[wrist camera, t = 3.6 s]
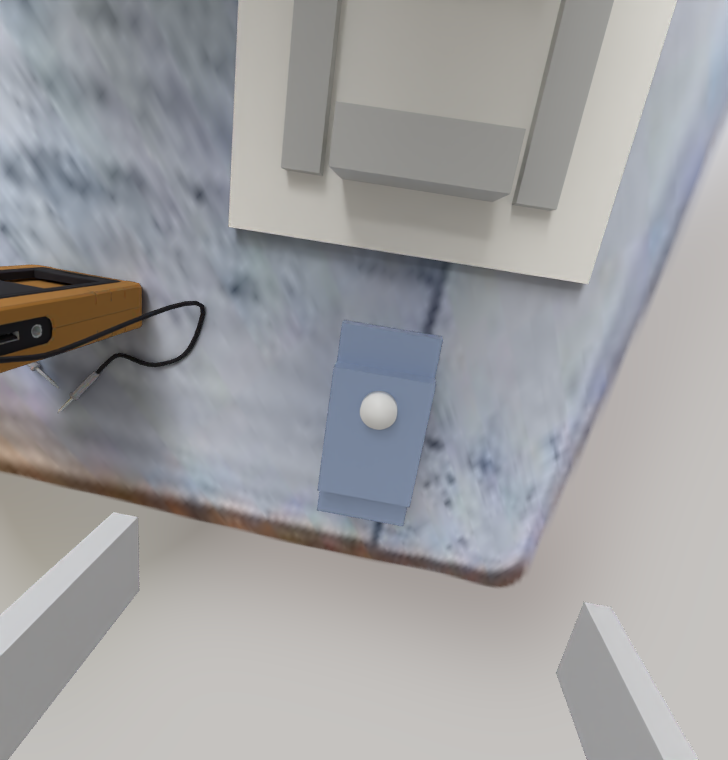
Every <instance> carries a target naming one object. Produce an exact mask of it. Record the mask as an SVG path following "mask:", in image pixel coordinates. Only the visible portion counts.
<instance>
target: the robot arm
mask: <svg viewBox="0 0 728 760" xmlns="http://www.w3.org/2000/svg"><path fill="white" fill-rule="evenodd" d="M138 540H139V537H138V517H137V516H131V515H126V514H120V513H116V512H113V513H112V514H111V515H110V516H109V517H107V518H106V519H105V520H104V521H103V522H102V523H101V524H100V525H99V526H97V528H95V529H94V530H93V531H92V532H91V533H90V534H89V535H88V536H87V537H86V538H84V539H83V540H82V541H81V542H80V543H79V544H78V545H77V546H75V547H74V548H73V549H72V550H71V551H70V552H69V553H68V554H67V555H66V556H64V557H63V558H62V559H61V560H60V561H59V562H58V563H57V564H56V565H55V566H53V567H52V568H51V569H50V570H49V571H48V572H47V573H46V574H45V575H44V576H42V577H41V578H40V579H39V580H38V581H37V582H36V583H35V584H34V585H33V586H31V587H30V588H29V589H28V590H27V591H26V592H25V593H24V594H23V595H21V596H20V597H19V598H18V599H17V600H16V601H15V602H14V603H13V604H12V605H11V606H9V607H8V608H7V609H6V610H5V611H4V612H3V613H2V614H1V615H0V760H8V759H9V758H10V756H11V755H12V754H13V753H14V751H15V750H16V749H17V747H18V746H19V745H20V744H21V742H22V741H23V740H24V738H25V737H26V736H27V734H28V733H29V732H30V730H31V729H32V728H33V727H34V726H35V724H36V723H37V722H38V720H39V719H40V718H41V716H42V715H43V714H44V712H45V711H46V710H47V709H48V707H49V706H50V705H51V704H52V702H53V701H54V700H55V698H56V697H57V696H58V695H59V693H60V692H61V691H62V689H63V688H64V687H65V686H66V684H67V683H68V682H69V680H70V679H71V678H72V676H73V675H74V674H75V673H76V671H77V670H78V669H79V667H80V666H81V665H82V664H83V662H84V661H85V660H86V658H87V657H88V656H89V654H90V653H91V652H92V651H93V649H94V648H95V647H96V645H97V644H98V643H99V642H100V640H101V639H102V637H103V636H104V635H105V634H106V633H107V631H108V630H109V629H110V627H111V626H112V625H113V623H114V622H115V621H116V620H117V618H118V617H119V616H120V615H121V613H122V612H123V611H124V609H125V608H126V607H127V605H128V604H129V603H130V602H131V600H132V599H133V597H134V596H135V595H136V594H137V592H138V591H139V541H138ZM556 674H557V677H558V679H559V682H560V685H561V688H562V691H563V694H564V697H565V699H566V702H567V705H568V708H569V710H570V713H571V716H572V719H573V722H574V725H575V728H576V730H577V733H578V736H579V739H580V742H581V744H582V747H583V750H584V753H585V756H586V759H587V760H699V759H698V758H697V756H696V754H695V752H694V751H693V749H692V747H691V745H690V744H689V742H688V740H687V738H686V737H685V735H684V733H683V731H682V730H681V728H680V726H679V725H678V723H677V721H676V719H675V717H674V716H673V714H672V712H671V710H670V709H669V707H668V706H667V704H666V702H665V700H664V698H663V696H662V695H661V693H660V691H659V689H658V688H657V686H656V684H655V682H654V681H653V679H652V677H651V675H650V674H649V672H648V671H647V668H646V667H645V665H644V663H643V661H642V660H641V658H640V656H639V655H638V653H637V651H636V649H635V647H634V646H633V644H632V642H631V641H630V639H629V637H628V635H627V633H626V632H625V630H624V628H623V627H622V625H621V623H620V621H619V620H618V618H617V616H616V614H615V613H614V611H613V609H612V607H609V606H603V605H598V604H592V603H587V602H584V603H583V606H582V608H581V611H580V614H579V616H578V619H577V621H576V624H575V626H574V629H573V631H572V634H571V636H570V639H569V641H568V644H567V646H566V649H565V652H564V654H563V657H562V659H561V661H560V664H559V667H558V669H557V672H556Z"/></svg>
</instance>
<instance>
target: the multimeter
mask: <svg viewBox="0 0 728 760" xmlns="http://www.w3.org/2000/svg"><path fill="white" fill-rule="evenodd" d="M190 305H197V306H199V307H200V312H201V314H200V318H199V322H198V325H197V328H196V331H195V334H194V337H193V339H192V341H191V343H190V345H189V346H188V348H187V349H186V350H185V352H184V353H183V354H181V355H180V356H179V357H177V358H175V359H172V360H169V361H165V362H160V363H149V362H145V361H142V360H139V359H137V358H135V357H132V356H130V355H127V354H123V353H118V354H114V355H113V356H111V357H110V358H109V359H108V360H107V361H106V362H104V363H103V364H102V365H101V366H100V367H99V369H98V370H97V371H95V372H93V373H92V374H91V375H89V376H88V378H87V379H86V380H85V381H84V382H83V383H82V384H81V385H80V386H79V387H78V388H77V389H76V390H75V391H74V392H71V393H70V397H71V398H70V399H69V400H68V401H67V402H66V403H65V404H64V405H63V406H62V407H61V408H60V409H59V411H58V413H59V412H61V411H62V410H63V409H64V408H65V407H66V406H67V405H68V404H69V403H70V402H71V401H72V400H73V399H74V400H78V399H79V397H80V395H81V394H82V393H83V392H84V391H85V390H86V389H87V388H88V387H89V386H90V385H91V384H92V383H93V382H94V381H95V380H96V379H97V378H98V376H99V375H100V373H101V371H102V370H103V369H104V368H105V367H106V366H107V365H108V364H109V363H110V362H111V361H113V360H114V359H115V358H117V357H123V358H126V359H129V360H131V361H134V362H136V363H138V364H141V365H145V366H149V367H158V366H164V365H168V364H172V363H174V362H177V361H179V360H181V359H182V358H184V357H185V356H186V355H187V354H188V353H189V352H190V351H191V349H192V348H193V346H194V344H195V342H196V340H197V338H198V336H199V333H200V330H201V327H202V323H203V320H204V316H205V308H204V305H203V304H201V303H199V302H198V301H185V302H181V303H177V304H173V305H169V306H166V307H163V308H160V309H157V310H154V311H151V312H149V313H146V314H144V315H142V287H141V285H140V284H139V283H135V282H130V281H122V280H117V279H111V278H106V277H100V276H95V275H89V274H83V273H78V272H72V271H67V270H61V269H56V268H52V267H47V266H41V265H19V266H1V267H0V373H2V372H5V371H8V370H11V369H14V368H17V367H21V366H24V365H28V366H29V367H30V369H31V370H32V371H34V370H37V371H38V372H39V373H40V374H41V375H42V376H44V377H45V378H46V379H47V380H48V381H49V382H50V383H51V384H53V385H54V386H55V387H57V388H59V387H58V385H57V384H56V383H55V382H54V381H53V380H52V379H50V378H49V377H48V376H47V375H46V374H45V373H44V372H42V371H41V370H40V369H39V367H40V364H38V363H36V361H39V360H42V359H45V358H48V357H52V356H55V355H58V354H61V353H64V352H67V351H70V350H73V349H76V348H79V347H82V346H85V345H88V344H91V343H94V342H97V341H100V340H103V339H106V338H109V337H112V336H115V335H118V334H121V333H123V332H127V331H130V330H133V329H137V328H140V327H141V326H142V320H144V319H146V318H149V317H151V316H154V315H157V314H160V313H163V312H165V311H168V310H171V309H175V308H179V307H183V306H190ZM59 389H60V388H59Z"/></svg>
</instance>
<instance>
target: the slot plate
mask: <svg viewBox="0 0 728 760" xmlns="http://www.w3.org/2000/svg"><path fill="white" fill-rule="evenodd" d="M676 3H677V0H238V22H237V44H236V67H235V90H234V112H233V135H232V157H231V180H230V202H229V225H228V227H232V228H238V229H244V230H251V231H257V232H263V233H269V234H276V235H282V236H288V237H295V238H301V239H307V240H313V241H320V242H326V243H332V244H338V245H345V246H351V247H357V248H364V249H370V250H376V251H382V252H389V253H395V254H401V255H408V256H414V257H420V258H426V259H433V260H439V261H445V262H451V263H458V264H464V265H470V266H477V267H483V268H489V269H495V270H502V271H508V272H514V273H520V274H527V275H533V276H539V277H546V278H552V279H558V280H564V281H571V282H577V283H583V284H589V280H590V277H591V274H592V271H593V268H594V264H595V261H596V258H597V255H598V252H599V249H600V245H601V242H602V239H603V236H604V233H605V229H606V226H607V223H608V220H609V217H610V213H611V210H612V207H613V204H614V201H615V197H616V194H617V191H618V188H619V185H620V182H621V178H622V175H623V172H624V169H625V166H626V162H627V159H628V156H629V153H630V150H631V146H632V143H633V140H634V137H635V134H636V130H637V127H638V124H639V121H640V118H641V115H642V111H643V108H644V105H645V102H646V99H647V95H648V92H649V89H650V86H651V83H652V79H653V76H654V73H655V70H656V67H657V63H658V60H659V57H660V54H661V51H662V48H663V44H664V41H665V38H666V35H667V32H668V28H669V25H670V22H671V19H672V16H673V12H674V9H675V6H676Z"/></svg>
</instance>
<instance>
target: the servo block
mask: <svg viewBox="0 0 728 760" xmlns="http://www.w3.org/2000/svg"><path fill="white" fill-rule="evenodd" d="M442 342H443V338H442V336H437V335H431V334H425V333H419V332H413V331H407V330H401V329H395V328H389V327H383V326H377V325H371V324H365V323H359V322H353V321H347V320H344V321H343V322H342V328H341V335H340V343H339V350H338V358H337V362H336V364H335V366H334V370H333V377H332V385H331V392H330V400H329V407H328V415H327V422H326V430H325V438H324V445H323V453H322V460H321V468H320V475H319V483H318V491H320V492H319V499H318V507H317V511H323V512H328V513H334V514H339V515H344V516H350V517H355V518H361V519H366V520H371V521H377V522H382V523H388V524H393V525H398V526H403V524H404V520H405V515H406V510H407V507H410V503H411V499H412V494H413V489H414V485H415V480H416V475H417V471H418V466H419V462H420V457H421V452H422V448H423V443H424V438H425V434H426V429H427V425H428V420H429V415H430V411H431V406H432V402H433V397H434V392H435V388H436V381H435V375H436V370H437V366H438V361H439V356H440V352H441V347H442Z"/></svg>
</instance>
